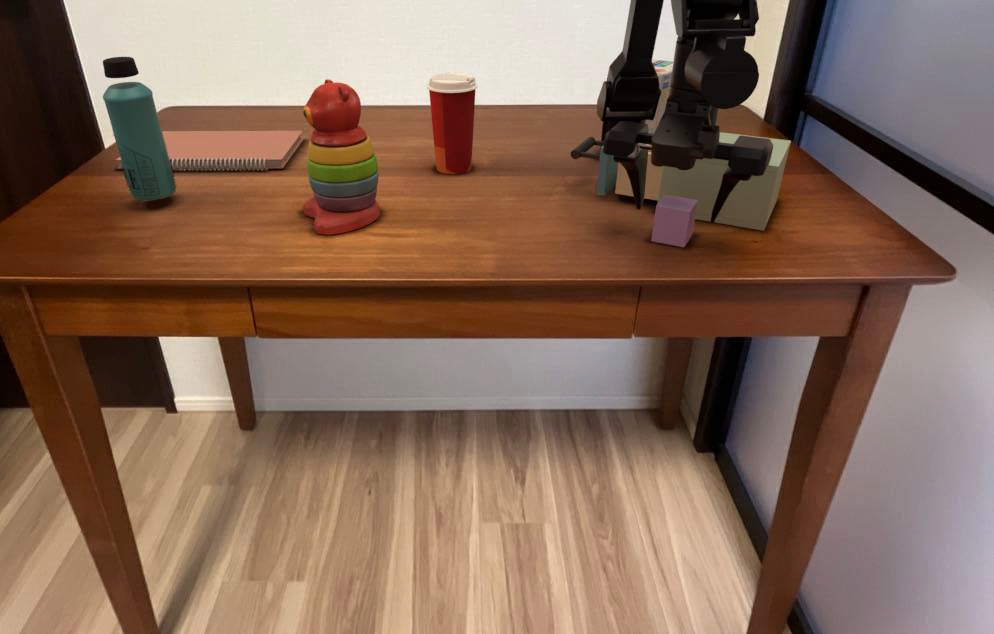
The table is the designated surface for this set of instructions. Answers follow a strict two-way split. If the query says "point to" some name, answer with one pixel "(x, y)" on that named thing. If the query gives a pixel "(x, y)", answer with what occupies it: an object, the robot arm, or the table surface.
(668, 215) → the mauve rounded cube
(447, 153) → the paper cup
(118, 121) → the beverage bottle
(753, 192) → the green drawer cabinet
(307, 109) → the stacking bear
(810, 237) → the table surface
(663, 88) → the light bulb box
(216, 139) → the notebook
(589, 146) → the drawer
